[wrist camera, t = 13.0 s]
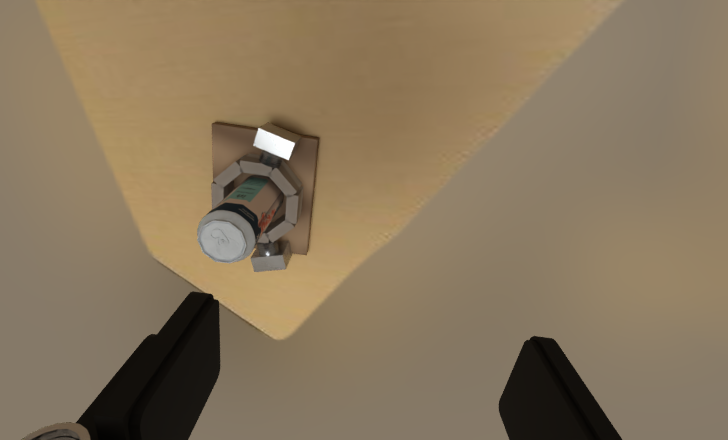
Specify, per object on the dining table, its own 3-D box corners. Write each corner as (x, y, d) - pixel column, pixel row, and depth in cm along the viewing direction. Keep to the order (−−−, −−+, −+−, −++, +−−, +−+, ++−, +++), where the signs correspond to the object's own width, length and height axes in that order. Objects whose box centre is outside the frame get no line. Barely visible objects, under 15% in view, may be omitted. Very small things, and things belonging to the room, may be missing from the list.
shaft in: (291, 164, 38) (284, 173, 35) (259, 150, 38) (249, 158, 35) (301, 136, 37) (294, 143, 34) (268, 122, 37) (258, 128, 33)
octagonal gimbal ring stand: (216, 122, 38) (199, 128, 34) (319, 137, 38) (313, 145, 34) (218, 238, 43) (203, 255, 40) (308, 250, 44) (302, 268, 40)
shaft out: (256, 232, 42) (247, 246, 38) (286, 229, 41) (279, 243, 38) (263, 256, 43) (254, 272, 40) (292, 253, 43) (285, 269, 40)
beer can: (258, 220, 41) (216, 276, 30) (233, 185, 39) (179, 231, 28) (292, 201, 40) (263, 252, 29) (268, 164, 38) (227, 204, 27)
